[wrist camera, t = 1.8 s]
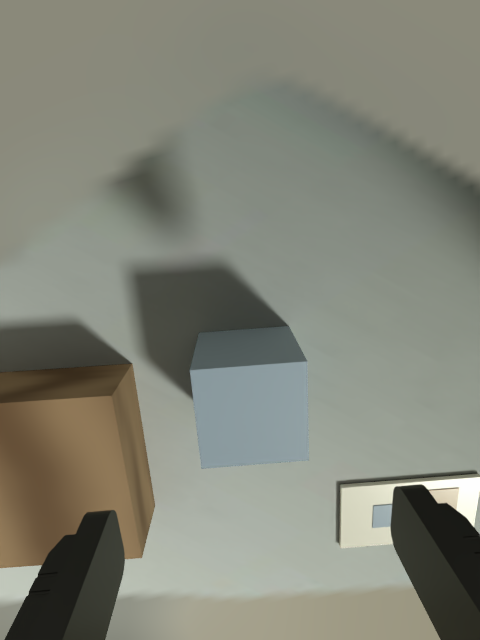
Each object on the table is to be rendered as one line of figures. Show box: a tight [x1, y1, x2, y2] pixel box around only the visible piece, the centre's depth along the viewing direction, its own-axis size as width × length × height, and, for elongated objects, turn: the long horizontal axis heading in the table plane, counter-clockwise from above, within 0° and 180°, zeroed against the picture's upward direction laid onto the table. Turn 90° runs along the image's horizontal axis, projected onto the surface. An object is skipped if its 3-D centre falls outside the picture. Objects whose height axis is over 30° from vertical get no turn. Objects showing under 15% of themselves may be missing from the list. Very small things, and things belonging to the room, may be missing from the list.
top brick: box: [190, 326, 309, 469], centre depth 18 cm, size 5×5×5 cm
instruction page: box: [339, 474, 480, 548], centre depth 24 cm, size 9×5×1 cm, turn 94°
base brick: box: [0, 364, 155, 568], centre depth 20 cm, size 9×10×4 cm
